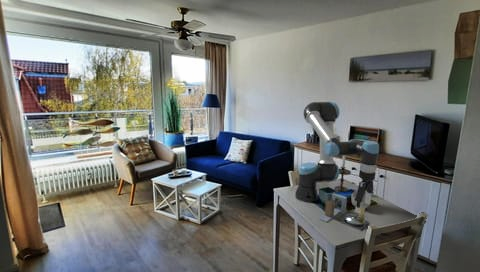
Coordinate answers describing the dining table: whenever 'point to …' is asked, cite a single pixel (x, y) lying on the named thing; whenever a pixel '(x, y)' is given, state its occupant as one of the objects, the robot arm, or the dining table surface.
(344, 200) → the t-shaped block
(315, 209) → the dining table surface
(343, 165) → the candlestick
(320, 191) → the flower pot
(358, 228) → the wheel stand
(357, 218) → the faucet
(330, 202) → the post in wooden base
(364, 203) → the teacup
